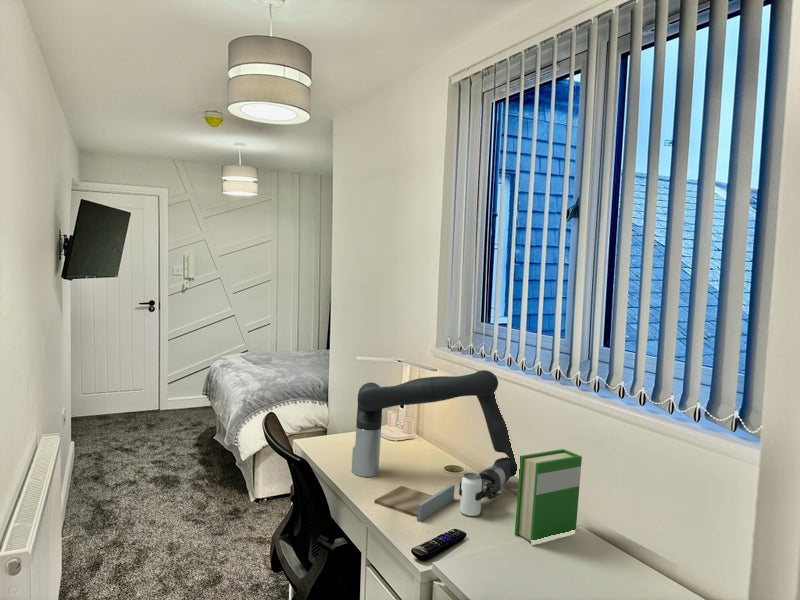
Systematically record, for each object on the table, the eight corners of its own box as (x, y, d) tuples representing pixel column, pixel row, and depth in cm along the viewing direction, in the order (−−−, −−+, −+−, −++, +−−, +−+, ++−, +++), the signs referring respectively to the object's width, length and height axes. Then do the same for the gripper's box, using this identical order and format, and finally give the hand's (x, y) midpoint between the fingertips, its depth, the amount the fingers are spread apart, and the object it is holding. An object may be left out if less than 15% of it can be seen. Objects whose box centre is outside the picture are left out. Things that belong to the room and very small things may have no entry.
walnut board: (374, 502, 189) (374, 499, 189) (401, 488, 203) (401, 485, 203) (416, 517, 181) (416, 513, 181) (441, 501, 194) (441, 498, 194)
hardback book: (532, 546, 166) (538, 463, 165) (514, 535, 173) (520, 455, 171) (575, 534, 175) (581, 456, 174) (557, 524, 182) (563, 448, 180)
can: (479, 518, 182) (481, 480, 182) (459, 515, 184) (460, 478, 183) (481, 509, 189) (483, 473, 188) (461, 506, 190) (463, 471, 189)
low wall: (416, 520, 178) (417, 504, 178) (450, 498, 197) (451, 484, 197) (420, 521, 178) (421, 505, 177) (453, 499, 196) (454, 484, 196)
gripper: (472, 463, 201) (449, 477, 187) (511, 474, 194) (490, 489, 179) (470, 485, 202) (447, 500, 188) (509, 496, 194) (488, 513, 180)
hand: (468, 495), depth 183 cm, fingers closed on can, 5 cm apart
